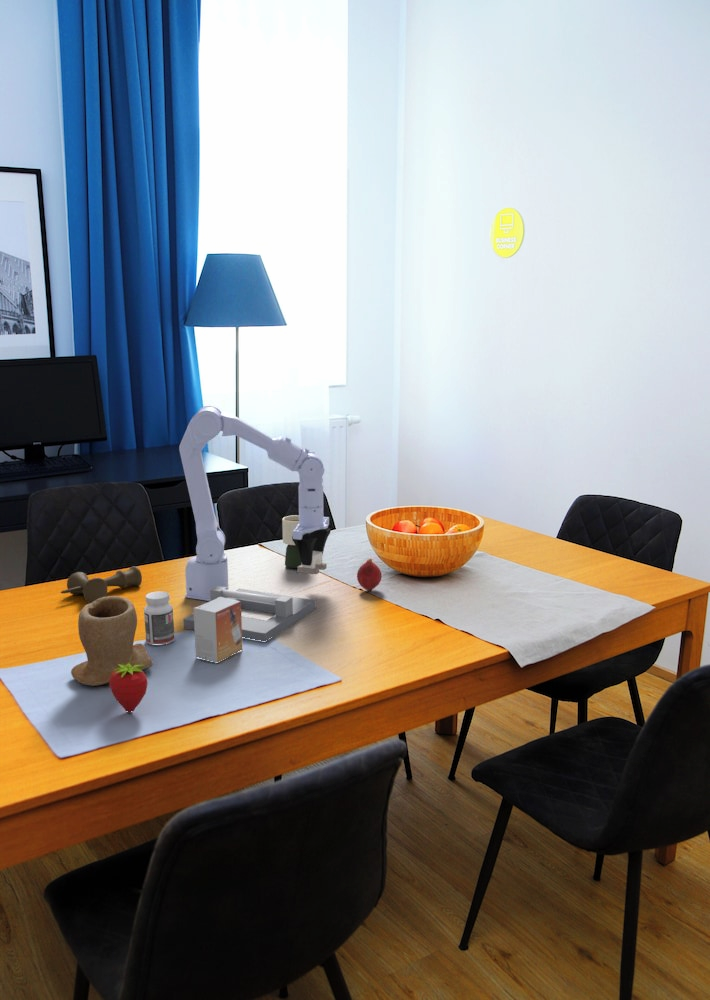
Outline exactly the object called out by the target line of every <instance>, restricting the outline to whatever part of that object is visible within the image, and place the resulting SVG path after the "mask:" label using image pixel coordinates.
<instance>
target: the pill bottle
mask: <svg viewBox="0 0 710 1000" xmlns="http://www.w3.org/2000/svg"><path fill="white" fill-rule="evenodd" d="M169 601H170V593H169V592H167V591H162V590H161V591H152V592H148V593H147V594H146V595H145V603H146V605H145V606H144V608H143V618H144V627H145V628H144V629H145V631H144V632H145V641H147V642H146V643H147V644H148V643H149V644H148V645H150V644H166V643H169V644H171V643H173V642H174V641H173V640H175V626H174V625H175V623H174V611H173V610H174V609H173V606H172V604H171V603H170V602H169ZM172 641H173V642H172ZM170 642H171V643H170ZM166 645H167V644H166Z"/></svg>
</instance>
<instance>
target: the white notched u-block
mask: <svg viewBox="0 0 710 1000" xmlns="http://www.w3.org/2000/svg"><path fill="white" fill-rule="evenodd" d="M296 568H297V569H296V570H297V573H303V574H311V575H318V574H319V573H320V570H321V571H324V570H326V569H327V563H324V562H323V555H322V552H319V551H313V555H312V563H311V565H310V566H308V565H302V562H301V565H300V566H298V567H296Z"/></svg>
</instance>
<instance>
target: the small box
mask: <svg viewBox="0 0 710 1000" xmlns="http://www.w3.org/2000/svg"><path fill="white" fill-rule="evenodd" d="M193 614H194V647H195V658H196V657H199V658H202V659H205V660H209V661H213V662H219V661H221V660H223V659H225V658H227V657H229V656H231V655H232V654H234V653H237V652H238V651H240V650H242V651H243V639H242V620H241V616H242V608H241V601H237V600H233V599H228V598H224V597H218V598H217V599H215V600H212V601H207V602H205V603H202V604H201V605H199V606H194V607H193ZM237 654H238V653H237ZM231 657H232V656H231ZM229 658H230V657H229ZM227 659H228V658H227ZM225 660H226V659H225ZM223 661H224V660H223ZM221 662H222V661H221ZM219 663H220V662H219Z"/></svg>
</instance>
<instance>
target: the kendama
mask: <svg viewBox="0 0 710 1000" xmlns="http://www.w3.org/2000/svg"><path fill="white" fill-rule="evenodd" d="M115 572H116V573H115V574H113V575H111V576H108V577H106V578H101V577H92V578H91V579H89V577H88V575H87V573H85V572H83V571H77V572H74V573H71V574H70V576H68V579H67V581H66V588H67V589H64V590H62V591H60V594H70V595H74V596H80V595H82V594H83V597H84V599H85V601H86V602H87V603H88V604H90V603H92V602H93V601H95V600H97V599H99V598H102V597H107V594H108V587H109V588H110V587H119V588H120V589H124V588H126V587H127V586H134V587H140V586H141V585H142V582H143V581H142V580H143V576H142V572H141V569H140V568H139V567H137V566H135V565H132V566H131V567H129V569H128V570H125V571H123V570H117V571H115Z"/></svg>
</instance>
